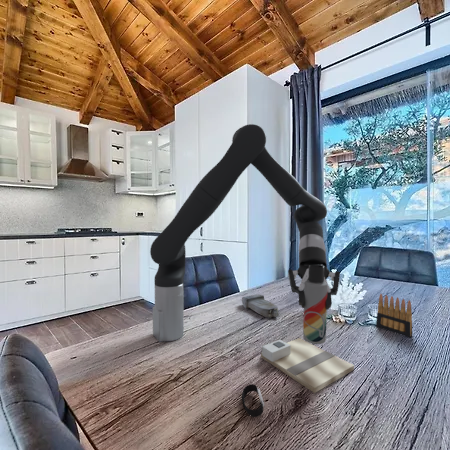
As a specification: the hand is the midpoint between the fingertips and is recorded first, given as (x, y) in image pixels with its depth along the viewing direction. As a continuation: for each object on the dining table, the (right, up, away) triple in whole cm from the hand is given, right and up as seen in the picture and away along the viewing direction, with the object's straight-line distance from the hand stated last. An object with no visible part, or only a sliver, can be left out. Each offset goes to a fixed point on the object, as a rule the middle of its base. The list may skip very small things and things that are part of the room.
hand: (315, 307), depth 68 cm
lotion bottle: (+1, -9, +2) cm, 10 cm away
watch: (-17, -18, -11) cm, 27 cm away
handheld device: (-8, -15, +43) cm, 46 cm away
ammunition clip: (+35, -16, +24) cm, 45 cm away
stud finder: (-9, -15, +6) cm, 19 cm away
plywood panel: (-1, -17, +4) cm, 17 cm away
